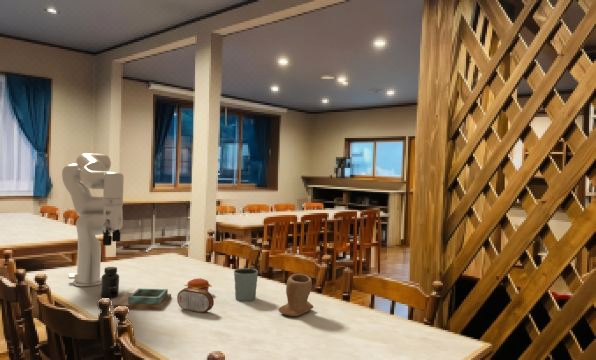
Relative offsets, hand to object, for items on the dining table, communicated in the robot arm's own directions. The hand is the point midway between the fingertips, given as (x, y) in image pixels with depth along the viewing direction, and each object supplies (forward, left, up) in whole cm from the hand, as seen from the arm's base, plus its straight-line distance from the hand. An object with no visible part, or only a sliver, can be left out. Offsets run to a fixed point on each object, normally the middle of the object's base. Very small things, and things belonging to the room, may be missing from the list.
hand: (111, 243), depth 179 cm
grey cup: (+56, +2, -22) cm, 60 cm away
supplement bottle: (0, 0, -22) cm, 23 cm away
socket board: (+16, -7, -22) cm, 28 cm away
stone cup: (+78, -14, -22) cm, 82 cm away
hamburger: (+35, +7, -23) cm, 42 cm away
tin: (+38, -15, -23) cm, 47 cm away
